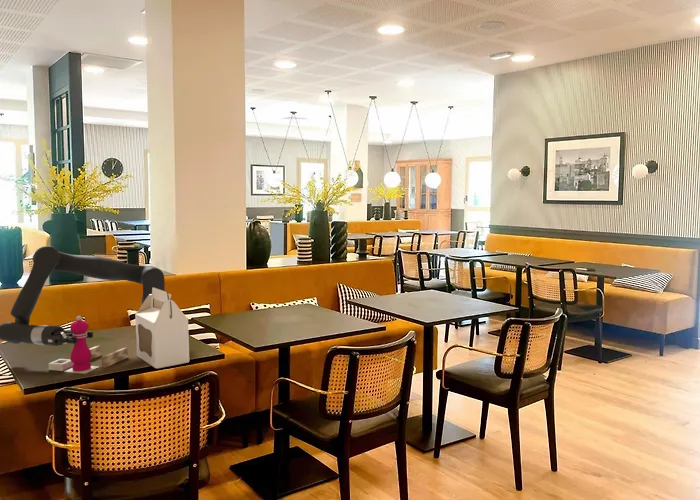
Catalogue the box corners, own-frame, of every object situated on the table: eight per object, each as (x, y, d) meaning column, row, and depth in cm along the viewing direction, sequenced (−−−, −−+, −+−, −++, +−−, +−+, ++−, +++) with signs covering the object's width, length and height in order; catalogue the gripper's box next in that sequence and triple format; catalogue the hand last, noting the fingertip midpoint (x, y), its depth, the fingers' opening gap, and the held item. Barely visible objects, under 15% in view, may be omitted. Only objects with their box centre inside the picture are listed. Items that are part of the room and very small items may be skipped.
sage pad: (79, 365, 220) (79, 364, 220) (99, 367, 218) (99, 366, 218) (64, 372, 212) (64, 371, 212) (85, 373, 210) (85, 372, 210)
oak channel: (97, 355, 234) (97, 345, 234) (127, 357, 231) (127, 347, 230) (73, 365, 221) (73, 355, 220) (105, 367, 217) (104, 357, 217)
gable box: (189, 362, 224) (187, 291, 221) (156, 369, 215) (153, 295, 213) (168, 350, 241) (166, 284, 238) (136, 356, 233) (133, 287, 230)
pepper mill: (75, 366, 218) (72, 314, 216) (95, 365, 219) (92, 313, 217) (67, 372, 211) (64, 318, 209) (88, 371, 212) (85, 317, 210)
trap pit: (60, 365, 221) (60, 358, 221) (73, 366, 219) (73, 359, 219) (48, 369, 215) (48, 363, 215) (62, 370, 214) (62, 364, 213)
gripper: (32, 329, 210) (70, 332, 206) (60, 321, 224) (97, 323, 220) (33, 350, 211) (71, 352, 207) (62, 340, 224) (98, 342, 221)
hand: (84, 337), depth 213 cm, fingers open, 8 cm apart
